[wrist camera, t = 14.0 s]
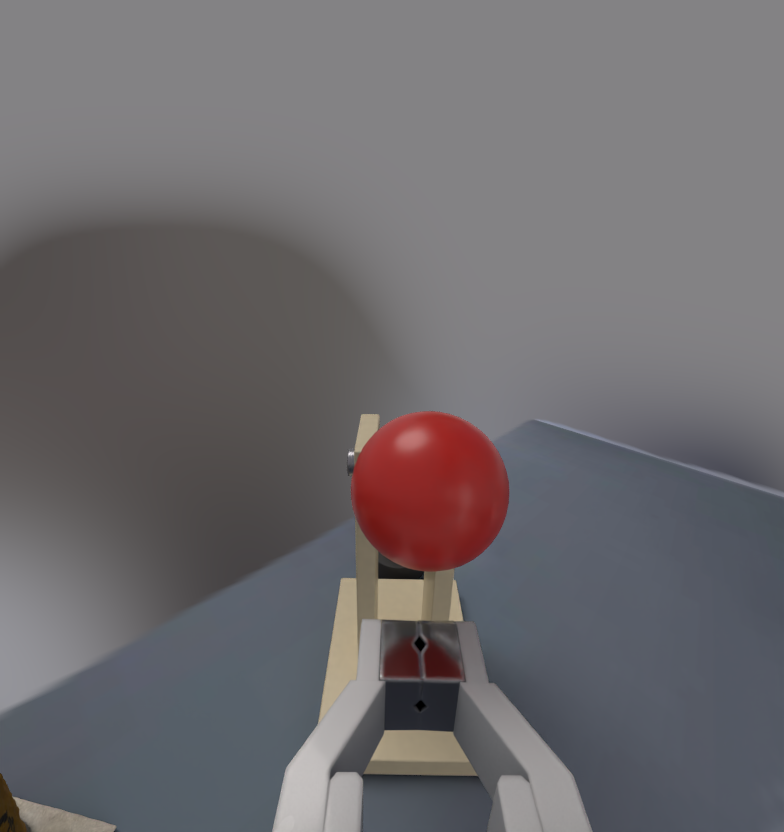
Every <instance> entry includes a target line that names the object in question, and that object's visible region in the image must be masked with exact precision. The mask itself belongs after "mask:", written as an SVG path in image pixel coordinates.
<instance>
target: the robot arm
mask: <svg viewBox="0 0 784 832" xmlns="http://www.w3.org/2000/svg"><path fill="white" fill-rule="evenodd" d="M384 730H426V731H445V732H453V735H454V736H455V738H456V740H457V741H458V743H459V745H460V747H461V748H462V750H463V752H464V753H465V755H466V757H467V758H468V760H469V762H470V763H471V765H472V767H473V769H474V770H475V772H476V774H477V775H478V777H479V779H480V780H481V782H482V784H483V785H484V787H485V789H486V791H487V792H488V794H489V796H490V797H491V799H492V801H493V805H492V809H491V813H490V818H489V822H488V826H487V831H486V832H592V829H591V826H590V823H589V820H588V817H587V814H586V811H585V808H584V805H583V803H582V800H581V797H580V794H579V791H578V788H577V785H576V782H575V779H574V776H573V774H572V773H571V772H570V771H569V770H568V768H567V767H566V766H565V765H564V764H563V763H562V761H561V760H560V759H559V758H558V757H557V756H556V754H555V753H554V752H553V751H552V750H551V749H550V747H549V746H548V745H547V744H546V743H545V741H544V740H543V739H542V738H541V737H540V736H539V734H538V733H537V732H536V731H535V730H534V729H533V727H532V726H531V725H530V724H529V723H528V721H527V720H526V719H525V718H524V717H523V716H522V714H521V713H520V712H519V711H518V710H517V709H516V707H515V706H514V705H513V704H512V703H511V702H510V700H509V699H508V698H507V697H506V696H505V694H504V693H503V692H502V691H501V690H500V689H499V687H498V686H497V685H496V684H495V683H489V680H488V676H487V672H486V667H485V663H484V658H483V654H482V649H481V645H480V640H479V636H478V631H477V627H476V624H475V623H474V622H471V621H425V620H418V621H404V620H384V619H382V622H381V619H362V623H361V631H360V642H359V654H358V665H357V676H356V680H350V681H349V683H348V684H347V685H346V687H345V688H344V690H343V691H342V692H341V694H340V695H339V696H338V698H337V699H336V701H335V702H334V703H333V705H332V706H331V707H330V709H329V710H328V711H327V713H326V714H325V716H324V717H323V718H322V720H321V721H320V722H319V724H318V725H317V727H316V728H315V729H314V731H313V732H312V733H311V735H310V736H309V737H308V739H307V740H306V742H305V743H304V744H303V746H302V747H301V748H300V750H299V751H298V753H297V754H296V755H295V757H294V758H293V759H292V761H291V762H290V764H289V765H288V766H287V768H286V771H285V775H284V780H283V785H282V789H281V794H280V798H279V803H278V808H277V812H276V817H275V822H274V826H273V831H272V832H363V779H362V778H361V777H362V775H363V773H364V771H365V770H366V768H367V766H368V764H369V762H370V760H371V758H372V756H373V754H374V752H375V750H376V748H377V746H378V744H379V742H380V740H381V739H382V737H383V735H384Z"/></svg>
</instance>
